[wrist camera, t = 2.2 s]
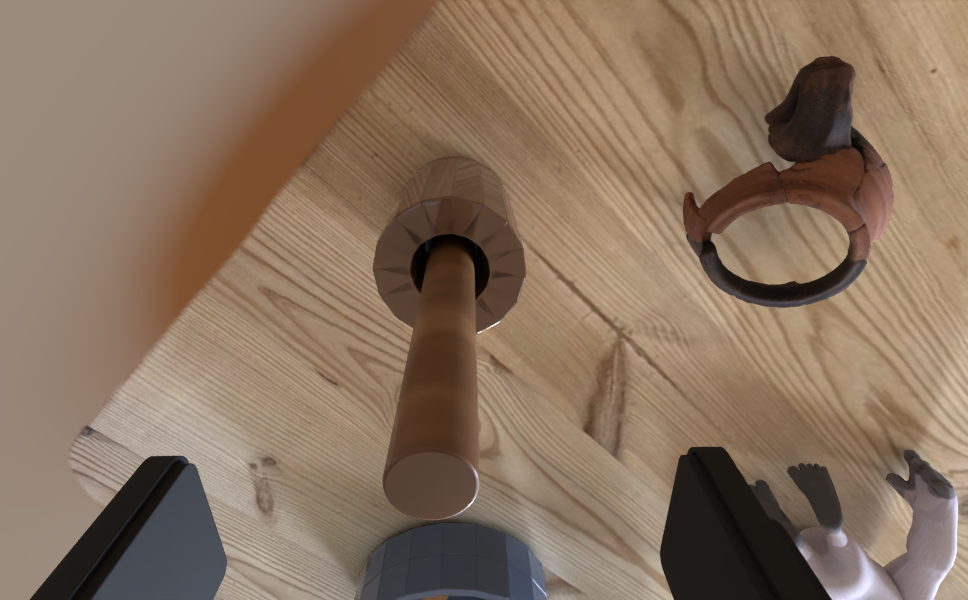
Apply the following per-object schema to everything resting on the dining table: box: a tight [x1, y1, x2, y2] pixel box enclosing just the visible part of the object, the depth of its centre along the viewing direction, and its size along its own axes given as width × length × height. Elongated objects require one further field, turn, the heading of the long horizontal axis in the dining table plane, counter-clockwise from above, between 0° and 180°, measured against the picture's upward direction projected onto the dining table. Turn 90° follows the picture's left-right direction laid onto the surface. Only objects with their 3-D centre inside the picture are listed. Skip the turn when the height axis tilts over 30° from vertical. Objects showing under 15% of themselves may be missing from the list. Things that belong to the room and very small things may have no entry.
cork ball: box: [420, 595, 448, 600], centre depth 40 cm, size 2×2×2 cm
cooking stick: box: [382, 234, 480, 520], centre depth 19 cm, size 2×2×20 cm
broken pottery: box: [683, 56, 894, 308], centre depth 26 cm, size 12×9×8 cm
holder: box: [373, 157, 526, 334], centre depth 25 cm, size 6×6×9 cm
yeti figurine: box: [749, 450, 958, 600], centre depth 39 cm, size 20×7×20 cm
